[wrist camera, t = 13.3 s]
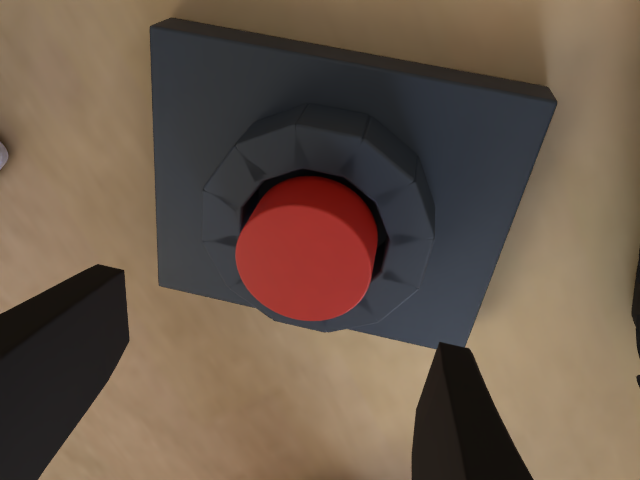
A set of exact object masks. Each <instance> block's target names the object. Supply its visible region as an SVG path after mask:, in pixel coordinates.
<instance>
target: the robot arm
mask: <svg viewBox="0 0 640 480" xmlns="http://www.w3.org/2000/svg"><path fill="white" fill-rule="evenodd" d="M7 160H8V152H7V150H6V147H5V146H4V145H3V144H2V143H1V142H0V170H1V168H2V167H3V166H4V165H5V163H6V162H7ZM129 341H130V340H129V327H128V314H127V301H126V288H125V275H124V270H121V269H117V268H112V267H108V266H104V265H99V264H97V265H95V266H93V267H90V268H88V269H86V270H84V271H82V272H80V273H78V274H77V275H75V276H73V277H71V278H69V279H67V280H65V281H63V282H61V283H59V284H58V285H56V286H54V287H52V288H50V289H48V290H46V291H44V292H42V293H41V294H39V295H37V296H35V297H33V298H31V299H29V300H27V301H25V302H23V303H21V304H19V305H17V306H15V307H13V308H11V309H10V310H8V311H6V312H4V313H2V314H0V480H38V479H39V477H40V476H41V474H42V473H43V471H44V470H45V468H46V467H47V465H48V464H49V463H50V461H51V460H52V458H53V457H54V456H55V454H56V453H57V452H58V450H59V449H60V447H61V446H62V445H63V443H64V442H65V440H66V439H67V438H68V436H69V435H70V434H71V432H72V431H73V429H74V428H75V427H76V425H77V424H78V422H79V421H80V420H81V418H82V417H83V416H84V414H85V413H86V411H87V410H88V409H89V407H90V406H91V404H92V403H93V402H94V400H95V399H96V397H97V396H98V394H99V393H100V392H101V390H102V389H103V387H104V386H105V384H106V383H107V382H108V380H109V378H110V376H111V375H112V373H113V371H114V369H115V367H116V366H117V364H118V362H119V360H120V358H121V356H122V354H123V352H124V350H125V348H126V346H127V344H128V343H129ZM412 480H534V479H533V478H532V476H531V474H530V472H529V471H528V469H527V467H526V465H525V464H524V462H523V460H522V458H521V456H520V454H519V453H518V451H517V449H516V447H515V445H514V443H513V441H512V439H511V437H510V435H509V433H508V431H507V429H506V427H505V425H504V423H503V421H502V419H501V417H500V415H499V413H498V411H497V409H496V407H495V405H494V403H493V400H492V398H491V396H490V394H489V391H488V389H487V387H486V385H485V382H484V380H483V378H482V375H481V373H480V371H479V368H478V366H477V363H476V361H475V358H474V356H473V353H472V352H471V350H470V349H469V348H465V347H461V346H456V345H452V344H447V343H443V342H439V344H438V347H437V350H436V353H435V356H434V359H433V362H432V365H431V368H430V370H429V373H428V376H427V379H426V382H425V385H424V388H423V391H422V394H421V397H420V400H419V403H418V406H417V408H416V417H415V426H414V436H413V447H412Z"/></svg>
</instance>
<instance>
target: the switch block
mask: <svg viewBox="0 0 640 480" xmlns="http://www.w3.org/2000/svg"><path fill="white" fill-rule="evenodd" d="M150 51H151V80H152V109H153V137H154V166H155V195H156V224H157V252H158V281H159V286H161V287H166V288H170V289H174V290H179V291H183V292H188V293H192V294H196V295H201V296H205V297H210V298H214V299H218V300H223V301H227V302H231V303H236V304H240V305H245V306H249V307H253V308H257V309H258V310H259V311H261V312H262V313H264V314H265V315H266V316H268V317H269V318H271V319H273V320H274V321H277V322H282V323H286V324H290V325H295V326H299V327H303V328H308V329H312V330H316V331H321V332H333V331H338V330H343V329H350V330H354V331H358V332H363V333H367V334H372V335H376V336H380V337H385V338H389V339H393V340H398V341H402V342H407V343H411V344H415V345H420V346H424V347H428V348H433V349H437V347H438V344H439V342H443V343H447V344H452V345H456V346H461V347H465V346H466V343H467V340H468V338H469V335H470V333H471V330H472V327H473V325H474V322H475V319H476V317H477V314H478V311H479V309H480V306H481V304H482V301H483V298H484V296H485V293H486V290H487V288H488V285H489V282H490V280H491V277H492V275H493V272H494V269H495V267H496V264H497V261H498V259H499V256H500V253H501V251H502V248H503V246H504V243H505V240H506V238H507V235H508V232H509V230H510V227H511V224H512V222H513V219H514V217H515V214H516V211H517V209H518V206H519V203H520V201H521V198H522V195H523V193H524V190H525V188H526V185H527V182H528V180H529V177H530V174H531V172H532V169H533V166H534V164H535V161H536V158H537V156H538V153H539V151H540V148H541V145H542V143H543V140H544V137H545V135H546V132H547V129H548V127H549V124H550V122H551V119H552V116H553V114H554V111H555V108H556V106H557V100H556V99H555V97H554V95H553V94H552V92H551V90H550V89H549V88H548V87H547V86H541V85H536V84H530V83H525V82H519V81H514V80H509V79H503V78H498V77H492V76H487V75H481V74H476V73H470V72H465V71H459V70H454V69H449V68H443V67H438V66H432V65H427V64H421V63H416V62H410V61H405V60H400V59H394V58H389V57H383V56H378V55H372V54H367V53H361V52H356V51H351V50H345V49H340V48H334V47H329V46H323V45H318V44H312V43H307V42H301V41H296V40H291V39H285V38H280V37H274V36H269V35H263V34H258V33H252V32H247V31H242V30H236V29H231V28H225V27H220V26H214V25H209V24H203V23H198V22H192V21H187V20H182V19H176V18H169V19H166V20H164V21H161V22H159V23H156V24H154V25H151V26H150ZM300 176H318V177H324V178H328V179H332V180H334V181H337V182H339V183H341V184H343V185H345V186H347V187H348V188H350V189H351V190H353V191H354V192H355V193H356V194H357V195H358V196H360V197H361V198H362V200H363V201H364V202H365V203H366V204H367V206H368V207H369V209H370V210H371V212H372V214H373V217H374V219H375V222H376V225H377V231H378V243H377V249H376V254H375V260H374V265H373V271H372V276H371V282H370V285H369V288H368V290H367V292H366V294H365V295H364V297H363V298H362V300H361V301H360V302H359V303H358V304H357V305H356V306H355V307H354V308H352V309H351V310H350V311H348V312H346V313H344V314H343V315H340V316H338V317H335V318H332V319H328V320H322V321H303V320H297V319H293V318H289V317H286V316H283V315H281V314H278V313H276V312H274V311H272V310H271V309H269V308H267V307H266V306H264V305H263V304H262V303H261V302H259V301H258V300H257V299H256V298H255V297H254V296H253V295H252V294H251V293H250V292H249V290H248V289H247V288H246V286H245V285H244V283H243V281H242V279H241V277H240V275H239V272H238V269H237V265H236V259H235V250H236V243H237V240H238V237H239V235H240V233H241V231H242V229H243V227H244V226H245V224H246V223H247V221H248V219H249V218H250V216H251V214H252V213H253V211H254V209H255V208H256V206H257V205H258V203H259V201H260V200H261V198H262V197H263V196H264V195H265V193H266V192H267V191H268V190H269V189H271V188H272V187H273V186H275V185H276V184H278V183H280V182H282V181H284V180H287V179H290V178H294V177H300Z"/></svg>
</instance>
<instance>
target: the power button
mask: <svg viewBox="0 0 640 480" xmlns="http://www.w3.org/2000/svg"><path fill="white" fill-rule="evenodd" d="M377 243H378V231H377V225H376V222H375V219H374V217H373V214H372V212H371V210H370V209H369V207H368V206H367V204H366V203H365V202H364V201H363V200H362V198H361V197H360V196H358V195H357V194H356V193H355V192H354V191H353V190H351V189H350V188H348V187H347V186H345V185H343V184H341V183H339V182H337V181H334V180H332V179H328V178H324V177H318V176H300V177H294V178H290V179H287V180H284V181H282V182H280V183H278V184H276V185H275V186H273V187H272V188H271V189H269V190H268V191H267V192H266V193H265V195H264V196H263V197H262V198H261V200H260V201H259V203H258V205H257V206H256V208H255V209H254V211H253V213H252V214H251V216H250V218H249V219H248V221H247V223H246V224H245V226H244V227H243V229H242V231H241V233H240V235H239V237H238V240H237V243H236V250H235V259H236V265H237V269H238V272H239V275H240V277H241V279H242V281H243V283H244V285H245V286H246V288H247V289H248V290H249V292H250V293H251V294H252V295H253V296H254V297H255V298H256V299H257V300H258V301H259V302H261V303H262V304H263V305H264V306H266V307H267V308H269V309H271V310H272V311H274V312H276V313H278V314H281V315H283V316H286V317H289V318H293V319H297V320H303V321H322V320H328V319H332V318H335V317H338V316H340V315H343V314H344V313H346V312H348V311H350V310H351V309H352V308H354V307H355V306H356V305H357V304H358V303H359V302H360V301H361V300H362V298H363V297H364V295H365V294H366V292H367V290H368V288H369V285H370V282H371V276H372V271H373V265H374V260H375V254H376V249H377Z"/></svg>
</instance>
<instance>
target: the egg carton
mask: <svg viewBox="0 0 640 480" xmlns="http://www.w3.org/2000/svg"><path fill="white" fill-rule="evenodd" d="M632 317H633V321H634V324H635V326H636V340H637V350H638V354H639V358H640V250H639V261H638V266H637V272H636V280H635V288H634V296H633V304H632ZM637 382H638V385H639V387H640V375H638V376H637Z"/></svg>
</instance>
